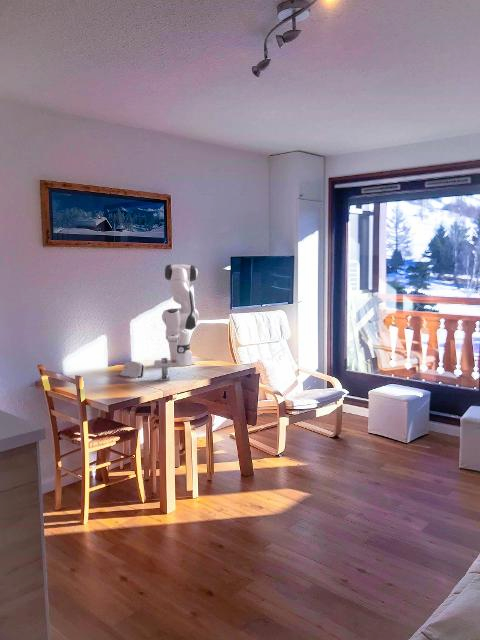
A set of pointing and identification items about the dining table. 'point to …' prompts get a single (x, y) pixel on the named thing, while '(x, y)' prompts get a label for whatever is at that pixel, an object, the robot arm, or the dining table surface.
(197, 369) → the dining table surface
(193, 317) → the robot arm
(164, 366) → the grey t-bar
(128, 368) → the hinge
